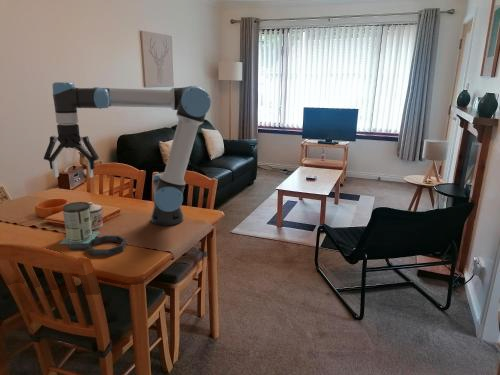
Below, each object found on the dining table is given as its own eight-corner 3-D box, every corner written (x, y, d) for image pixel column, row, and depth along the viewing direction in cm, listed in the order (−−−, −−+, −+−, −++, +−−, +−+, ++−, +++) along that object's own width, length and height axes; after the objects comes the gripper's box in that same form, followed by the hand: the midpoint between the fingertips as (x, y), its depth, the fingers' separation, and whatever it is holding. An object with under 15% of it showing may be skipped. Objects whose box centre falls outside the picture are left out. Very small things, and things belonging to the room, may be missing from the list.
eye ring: (128, 241, 150) (128, 235, 149) (119, 255, 137) (119, 250, 136) (77, 241, 149) (77, 235, 148) (63, 256, 136) (62, 250, 135)
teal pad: (100, 232, 158) (99, 231, 158) (90, 244, 146) (90, 243, 146) (71, 232, 157) (71, 231, 157) (59, 244, 145) (59, 243, 145)
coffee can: (72, 232, 156) (68, 201, 152) (96, 232, 157) (93, 201, 153) (61, 242, 146) (57, 209, 142) (87, 242, 147) (84, 209, 143)
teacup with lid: (95, 231, 159) (92, 206, 155) (77, 229, 160) (74, 204, 157) (111, 222, 170) (109, 198, 167) (94, 220, 172) (91, 196, 169)
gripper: (103, 123, 143) (108, 175, 149) (39, 122, 141) (46, 174, 147) (97, 125, 136) (102, 179, 142) (28, 124, 134) (36, 179, 140)
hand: (73, 177), depth 144 cm, fingers open, 13 cm apart
